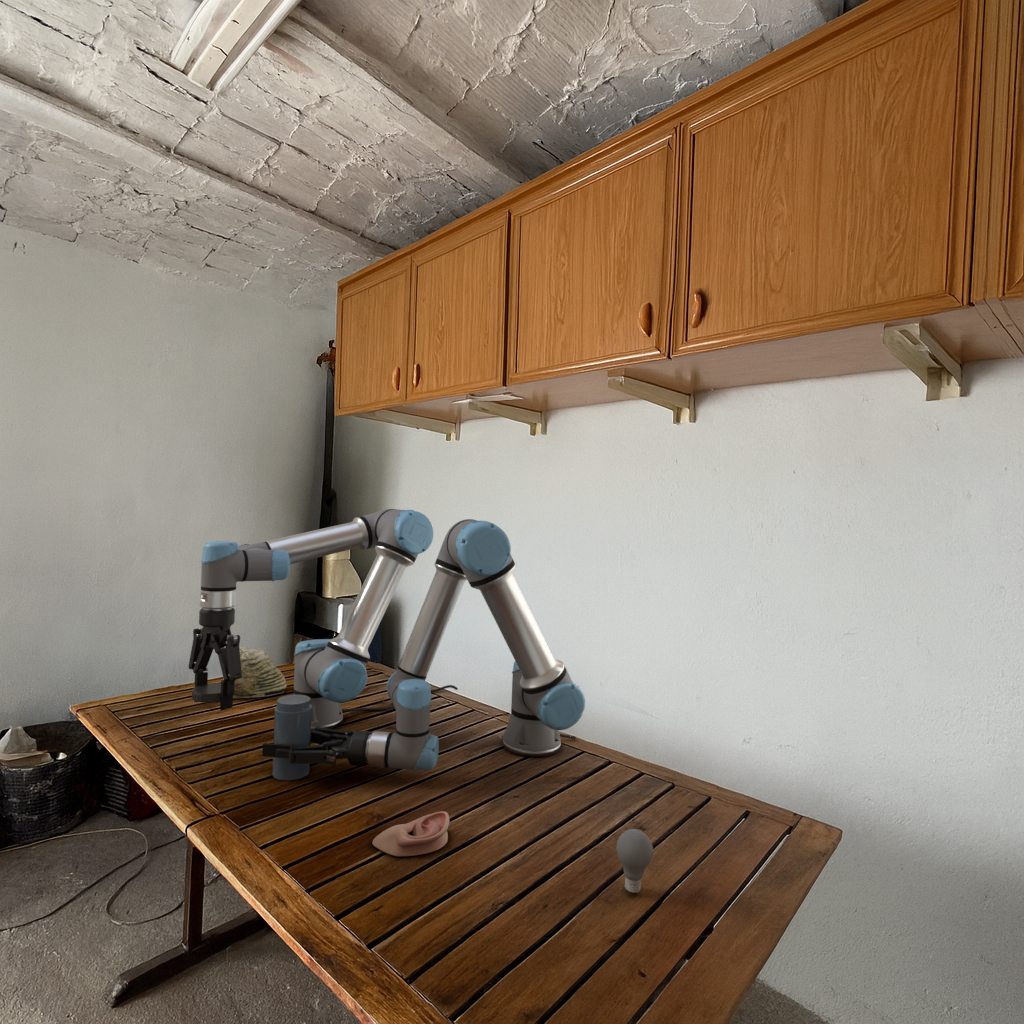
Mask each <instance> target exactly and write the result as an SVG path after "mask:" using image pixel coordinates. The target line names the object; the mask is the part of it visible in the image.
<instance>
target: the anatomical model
mask: <svg viewBox="0 0 1024 1024" xmlns="http://www.w3.org/2000/svg"><path fill="white" fill-rule="evenodd" d="M449 827H450V816H449V813H448V812H447V811H442V810H441V811H436V812H432V813H429V814H426V815H424V816H421V817H418V818H416V819H414V820H412V821H410V822H407V823H401V824H395V825H393V826H390V827H389V828H387V829H385V830H383V831H381V833H379V834H378V835H376V836H375V837H374V838H373V839H372V845H373V847H375V848H376V849H378V850H380V851H381V852H383V853H385V854H388V855H390V856H394V857H410V856H411V857H412V856H419V855H425V854H429V853H433V852H435V851H438V850H440V849H442V848H443V847H445V846H446V845H447V843H448V840H449V833H448V829H449Z"/></svg>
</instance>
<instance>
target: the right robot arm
mask: <svg viewBox="0 0 1024 1024" xmlns="http://www.w3.org/2000/svg"><path fill="white" fill-rule="evenodd" d="M434 566H435V568H436V569H435V570H436V571H435V573H434V575H433V578H432V581H431V583H430V585H429V588H428V591H427V593H426V595H425V598H424V601H423V603H422V605H421V607H420V610H419V613H418V616H417V618H416V620H415V623H414V625H413V628H412V630H411V633H410V636H409V637H408V640H407V643H406V644H405V648H404V649H403V650H404V651H403V653H402V655H401V657H400V660H399V663H398V665H397V668H396V670H395V672H393V673H392V674H391V675H390V677H389V678H388V680H387V682H386V689H387V691H386V693H387V696H388V697H389V698H388V699H390V701H391V703H392V705H394V707H393V708H394V710H395V712H396V713H395V714H396V719H395V732H391V731H376V730H375V731H374V730H373V732H371V731H370V730H359V729H358V730H357V729H356V730H355V731H354V730H343V729H342V730H341V729H335V728H333V729H328V728H321V727H315V728H314V730H311V745H310V746H299V747H293V744H291V745H286V744H273V742H272V743H271V742H264V743H262V748H261V749H262V750H261V751H262V754H261V757H264V758H265V757H266V758H273V757H278V758H290V764H310V765H311V764H312V765H313V764H314V765H315V764H316V765H318V764H320V765H321V764H322V765H323V764H325V765H330V766H331V765H332V766H333V765H336V764H337V760H341V759H347V760H348V763H349V765H350V766H353V767H366V766H368V767H372V768H379V769H380V770H383V769H385V768H387V769H401V770H412V771H432V770H434V768H435V767H436V765H437V763H438V759H439V750H440V743H439V742H440V740H439V737H438V736H437V735H434V734H431V731H430V720H431V703H432V692H431V690H432V686H431V684H430V683H429V681H426V680H427V677H428V675H429V671H430V669H431V666H432V664H433V662H434V659H435V657H436V654H437V652H438V649H439V646H440V644H441V641H442V639H443V637H444V634H445V631H446V630H447V628H448V625H449V622H450V619H451V617H452V614H453V612H454V609H455V607H456V604H457V602H458V600H459V596H460V594H461V592H462V589H463V587H464V584H465V582H466V581H467V582H468V584H469V586H470V588H472V589H476V590H479V591H480V593H481V595H482V597H483V600H484V601H485V603H486V605H487V607H488V609H489V611H490V613H491V615H492V618H493V619H494V621H495V623H496V625H497V627H498V630H499V632H500V633H501V635H502V637H503V639H504V642H505V643H506V645H507V647H508V649H509V652H510V653H511V655H512V657H513V659H514V662H513V666H512V671H511V674H512V677H511V678H512V680H511V681H512V682H511V706H510V707H511V710H510V717H509V720H508V722H507V725H506V727H505V730H504V733H503V736H502V746H503V748H504V749H506V750H507V751H508V752H510V753H512V754H515V755H519V756H524V757H530V758H531V757H533V758H537V757H539V758H540V757H548V756H552V755H555V754H556V753H558V752H560V750H561V747H562V741H561V739H562V738H565V739H572V740H576V739H577V738H576V735H575V736H574V735H569V734H563V733H560V731H564V730H568V729H570V728H572V727H573V726H575V725H576V724H577V723H578V722H579V721H580V719H582V716H583V713H584V711H585V708H586V697H585V694H584V691H582V689H581V688H580V686H579V685H577V684H576V683H574V681H573V680H572V677H571V676H570V674H569V672H568V670H567V668H566V666H565V663H564V662H563V661H562V660H560V659H556V658H554V655H553V653H552V651H551V649H550V647H549V645H548V643H547V641H546V639H545V637H544V635H543V633H542V631H541V628H540V626H539V625H538V623H537V620H536V618H535V616H534V615H533V612H532V610H531V608H530V606H529V604H528V602H527V599H526V598H525V596H524V593H523V592H522V589H521V588H520V585H519V584H518V583H519V582H517V579H516V578H515V575H514V571H515V568H516V563H515V561H514V558H513V556H512V546H511V542H510V539H509V537H508V534H507V533H506V532H505V531H504V530H503V529H502V528H501V527H500V526H498V525H496V524H495V523H493V522H491V521H488V520H477V519H473V518H468V519H462V520H460V521H457V522H455V523H454V524H453V525H452V526H450V528H449V529H448V531H447V532H446V535H445V536H444V539H443V541H442V544H441V546H440V548H439V552H438V555H437V557H436V560H435V562H434ZM570 736H571V737H570Z"/></svg>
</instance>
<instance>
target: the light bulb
mask: <svg viewBox="0 0 1024 1024" xmlns="http://www.w3.org/2000/svg"><path fill="white" fill-rule="evenodd" d="M615 849H616V854H617V857H618V859H619V861H620V863H621V865H622V867H623V873H624V874H623V875H624V876H625V878H624V888H625V890H627V891H628V892H630V893H634V894H635V893H639V892H640V891H641V889H642V887H641V886H642V879H643V877H644V875H645V871H646V868H647V867H648V866H649V864H650V863H651V861H652V859H653V855H654V847H653V843H652V841H651V838H649V836H648V835H647V834H646V833H645V832H643V831H642V830H641V829H636V828H629V829H627V830H625V831H623V832H622V833H621V834H620V835H619V837H618V839H617V841H616V847H615Z"/></svg>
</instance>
